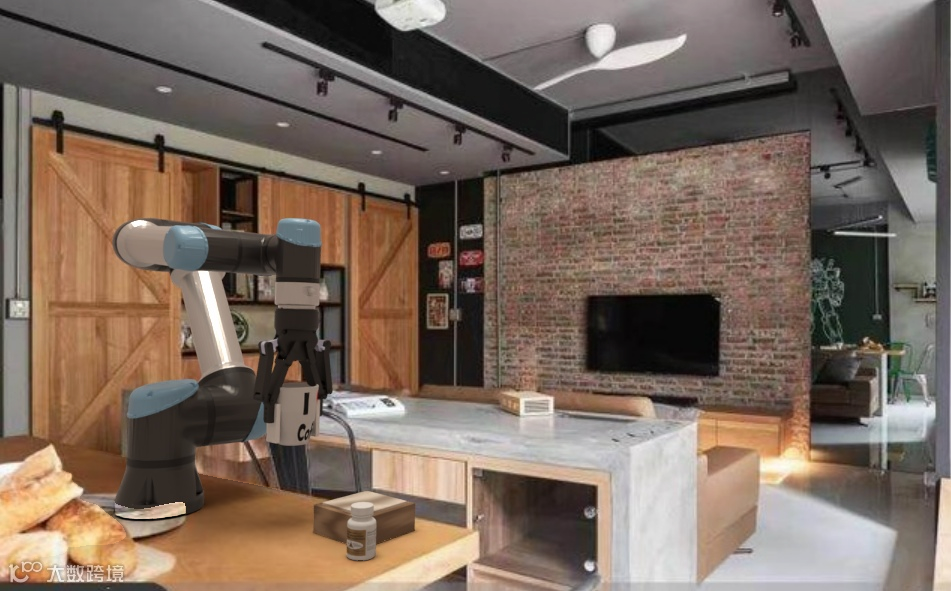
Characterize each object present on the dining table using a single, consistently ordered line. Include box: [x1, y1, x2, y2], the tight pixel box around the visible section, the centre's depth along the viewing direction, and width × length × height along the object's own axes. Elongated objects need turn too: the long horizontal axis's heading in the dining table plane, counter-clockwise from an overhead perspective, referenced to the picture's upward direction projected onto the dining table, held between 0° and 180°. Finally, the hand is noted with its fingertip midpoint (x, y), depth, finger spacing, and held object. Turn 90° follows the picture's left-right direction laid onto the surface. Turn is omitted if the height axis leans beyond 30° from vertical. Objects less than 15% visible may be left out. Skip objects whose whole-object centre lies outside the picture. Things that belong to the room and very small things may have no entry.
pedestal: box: [312, 490, 416, 544], centre depth 112 cm, size 12×12×5 cm
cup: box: [276, 382, 319, 447], centre depth 115 cm, size 8×8×10 cm
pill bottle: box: [346, 502, 377, 561], centre depth 100 cm, size 4×4×8 cm
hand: (293, 438), depth 115 cm, fingers closed on cup, 8 cm apart
